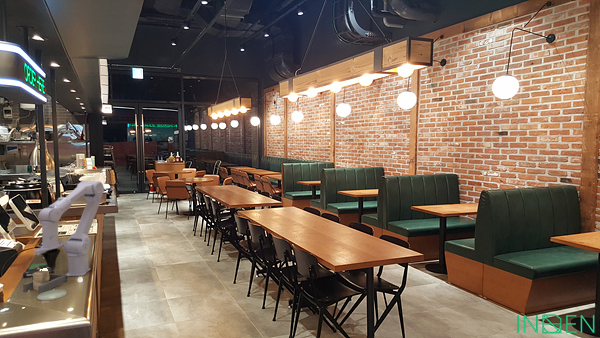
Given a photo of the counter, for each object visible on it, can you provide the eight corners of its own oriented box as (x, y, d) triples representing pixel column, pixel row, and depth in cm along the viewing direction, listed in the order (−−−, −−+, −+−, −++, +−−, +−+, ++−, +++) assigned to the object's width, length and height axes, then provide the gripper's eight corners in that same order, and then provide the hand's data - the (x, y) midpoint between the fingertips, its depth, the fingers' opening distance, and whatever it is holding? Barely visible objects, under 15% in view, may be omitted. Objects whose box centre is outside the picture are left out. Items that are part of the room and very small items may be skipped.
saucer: (44, 291, 160) (44, 290, 160) (70, 290, 162) (70, 288, 162) (32, 301, 150) (31, 299, 150) (60, 300, 152) (59, 298, 152)
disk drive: (49, 277, 179) (55, 266, 192) (49, 271, 178) (55, 261, 192) (22, 279, 175) (31, 269, 188) (22, 273, 174) (30, 263, 188)
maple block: (41, 286, 166) (40, 270, 165) (49, 287, 165) (49, 271, 164) (33, 289, 162) (32, 273, 161) (41, 290, 161) (41, 274, 161)
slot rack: (50, 279, 173) (50, 273, 173) (67, 281, 172) (66, 274, 171) (23, 291, 160) (23, 284, 160) (41, 293, 158) (40, 286, 158)
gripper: (55, 231, 175) (56, 261, 176) (27, 239, 161) (28, 271, 162) (69, 232, 174) (70, 262, 175) (42, 240, 159) (43, 272, 160)
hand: (51, 266), depth 168 cm, fingers closed
